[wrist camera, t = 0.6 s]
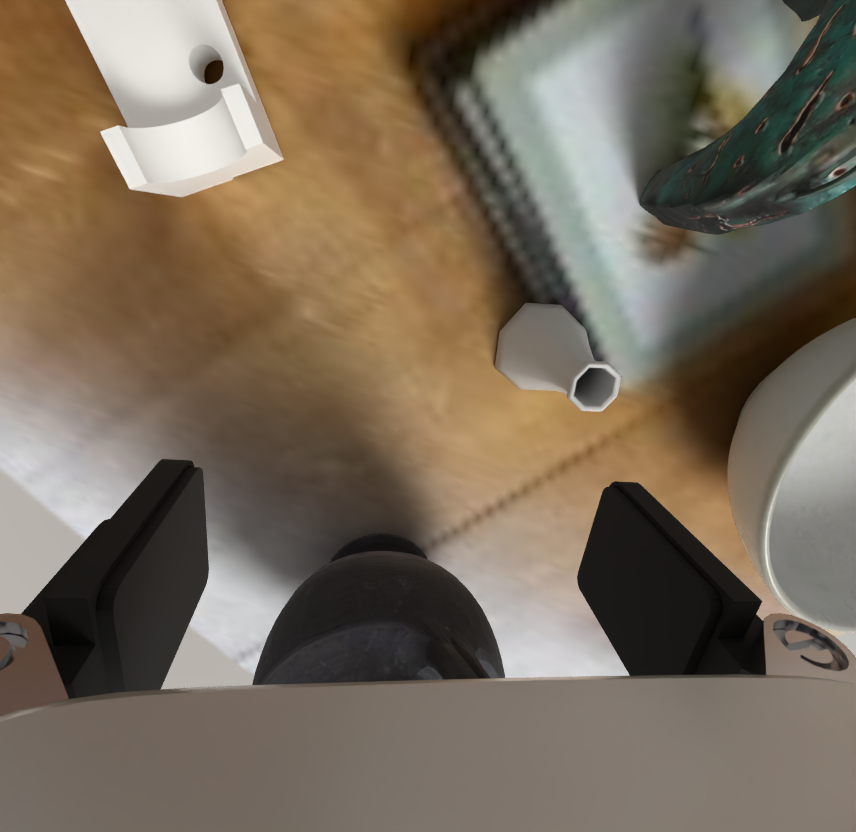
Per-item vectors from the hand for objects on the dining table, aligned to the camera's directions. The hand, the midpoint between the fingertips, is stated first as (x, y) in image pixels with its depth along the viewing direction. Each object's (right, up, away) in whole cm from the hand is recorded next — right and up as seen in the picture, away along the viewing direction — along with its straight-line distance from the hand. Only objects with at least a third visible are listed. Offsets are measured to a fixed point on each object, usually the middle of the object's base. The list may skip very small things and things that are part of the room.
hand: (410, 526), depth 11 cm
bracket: (-14, +24, +17) cm, 32 cm away
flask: (+9, +8, +26) cm, 29 cm away
